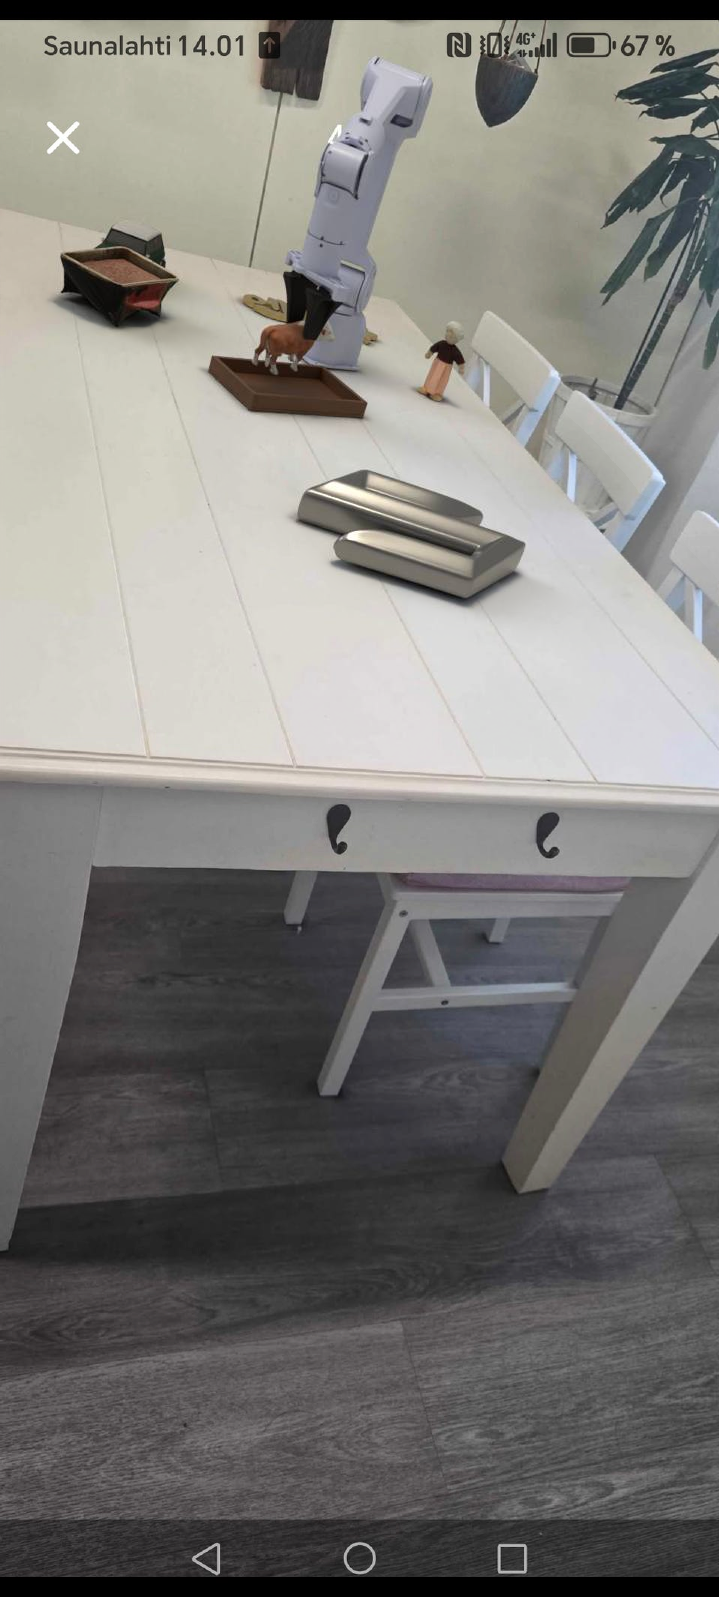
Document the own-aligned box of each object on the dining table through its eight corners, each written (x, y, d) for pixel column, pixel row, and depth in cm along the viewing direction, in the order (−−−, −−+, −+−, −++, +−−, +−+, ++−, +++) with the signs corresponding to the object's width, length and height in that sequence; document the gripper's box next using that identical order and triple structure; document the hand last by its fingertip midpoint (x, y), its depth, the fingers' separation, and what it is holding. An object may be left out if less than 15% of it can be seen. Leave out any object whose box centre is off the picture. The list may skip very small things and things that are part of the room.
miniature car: (81, 276, 201) (90, 226, 196) (118, 256, 216) (126, 209, 211) (133, 295, 201) (142, 245, 197) (166, 274, 216) (175, 227, 211)
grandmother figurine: (408, 389, 206) (433, 314, 198) (416, 385, 209) (440, 311, 201) (449, 407, 204) (475, 333, 197) (456, 403, 207) (482, 329, 200)
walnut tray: (319, 380, 195) (323, 365, 194) (363, 417, 188) (367, 402, 186) (207, 371, 183) (211, 354, 182) (250, 410, 176) (254, 393, 174)
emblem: (457, 464, 168) (567, 568, 150) (444, 499, 171) (551, 606, 153) (277, 446, 153) (375, 559, 136) (266, 485, 156) (361, 601, 139)
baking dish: (176, 336, 198) (191, 272, 193) (105, 327, 183) (120, 258, 178) (108, 307, 202) (122, 244, 198) (33, 296, 187) (46, 228, 183)
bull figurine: (323, 374, 187) (344, 327, 182) (257, 377, 179) (276, 328, 173) (307, 356, 189) (327, 309, 183) (240, 359, 180) (259, 309, 175)
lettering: (244, 311, 212) (246, 306, 211) (240, 293, 220) (241, 288, 219) (380, 347, 219) (381, 342, 219) (371, 328, 227) (372, 323, 227)
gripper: (278, 214, 174) (254, 309, 182) (329, 252, 166) (303, 349, 174) (318, 221, 179) (294, 314, 186) (370, 258, 170) (343, 353, 178)
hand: (301, 331), depth 180 cm, fingers closed on bull figurine, 4 cm apart
